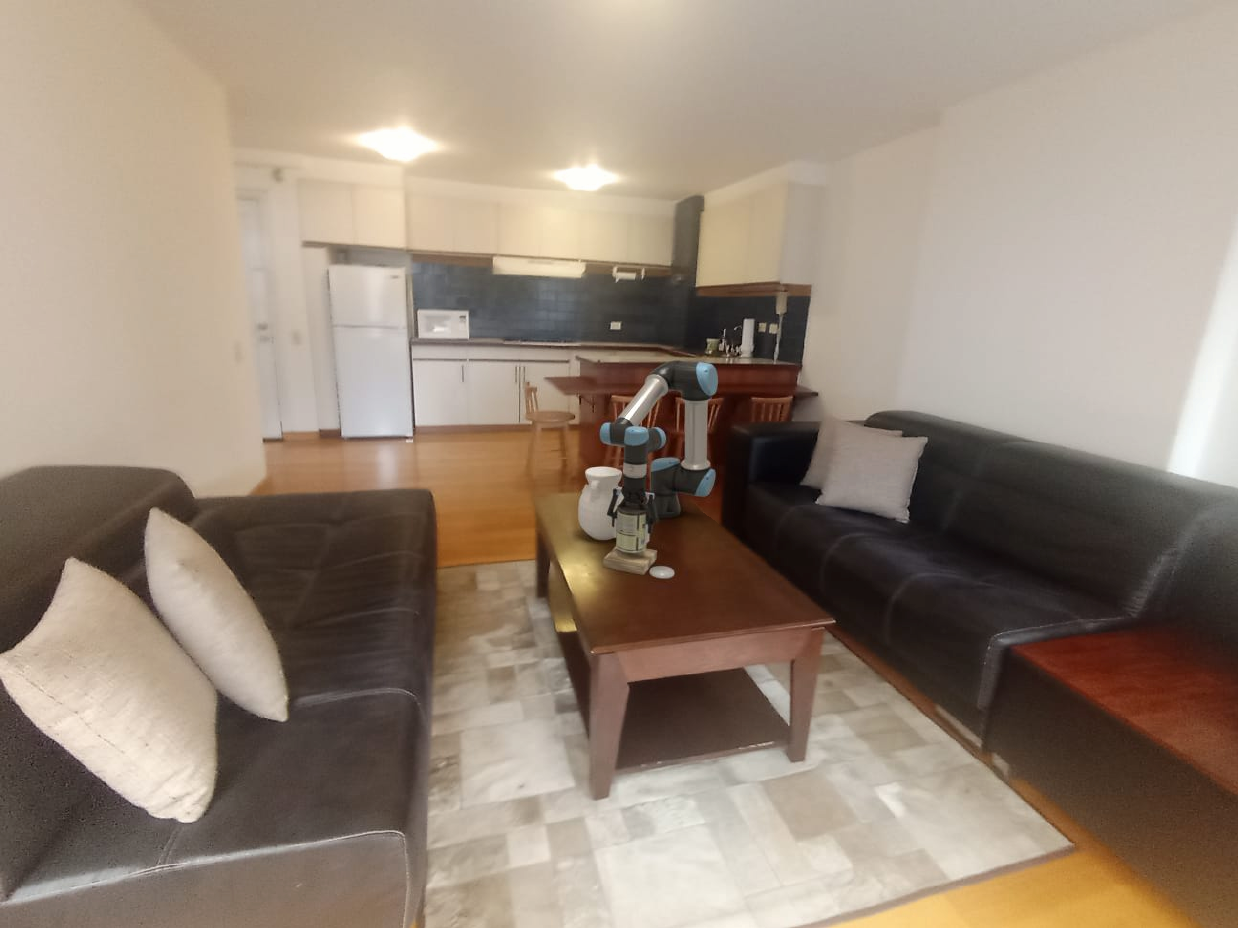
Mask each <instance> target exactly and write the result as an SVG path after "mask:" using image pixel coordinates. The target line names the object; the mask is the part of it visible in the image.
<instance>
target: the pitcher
mask: <svg viewBox="0 0 1238 928" xmlns="http://www.w3.org/2000/svg"><path fill="white" fill-rule="evenodd" d="M584 474H585V478H586V479H587V482H588V484H585V485H584V486H583V489H582V490H581V493H582V494H581V495H580V497H579V500H578V509H577V518H578V522H579V525H580V527H581V529H582V530H583V531H584V533H586V534H587V535H589V536H590V537H591V538H593V539H594V540H598V541H608V540H609V541H611V540H612V539H615V538H614V527H612V517H611V516H608V515H607V512H608V509H609V506H610V503H611V500H612V497H613V489H615V488H616V487H618V488H621V489H622V487H623V486H620V485H619V482H620V481H621V479H622V477H623V471H622V470H620V469H618V468H615V467H610V466H595V467H589V468H587V469H585V473H584ZM623 498H624V496H623V494H622V493H620V494H619V496H618V499H617V502H616V505H615V508H614V510H613V512H615V511H616V509H617V506H618V505H619V504H620V503H621V501H622V500H623Z"/></svg>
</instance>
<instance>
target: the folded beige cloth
mask: <svg viewBox="0 0 1238 928" xmlns="http://www.w3.org/2000/svg"><path fill="white" fill-rule="evenodd" d="M657 555H658V550H656V549H651V548H646V549H645V550H644V551H642V552H638V553H628V552H623V551H620V550H619V549H617V547H616V546H615V547H613V548H612V550H611V551H609V553H608V554H607V555H605V557H603V561H602V562H603V563H602V564H603V565H602V567H603V568H606V569H613V570H617V571H621V572H626V573H632V574H635V575H640V576H644V575H646V572H647V571H648V570H650V569H651V566H652V565H653V564H654V563H655V562H656V560H657V558H658V556H657Z"/></svg>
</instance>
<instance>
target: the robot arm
mask: <svg viewBox="0 0 1238 928" xmlns="http://www.w3.org/2000/svg"><path fill="white" fill-rule="evenodd" d="M718 378H719V375H718V372H717V369H716V367H715V366H714V365H713V364H712V363H707V362H703V361H688V360H678V359H677V360H676V359H675V360H670V361H666V362H665V363H663V364H660V365H659V366H658V367H656V368H655V369H653V370H652V371H651V372H650V373H648V375H647V377H646V378H645V380H644V384H643V386H642V387H641V388H640V390H638V392H637V393H636V394H635V396H634V397H633V398H632V399H631V400H630V402H629V403H628V404H627V406H626V407H625V408H624V410H622V412H621V413H620V414H619V415H618V417H617V418H616V419H615V420H614V422H611V421H610V422H604V423H603V424H601V427H600V430H599V438H600V441H601V442H602V443H603V444H606V445H609V446H611V447H612V446H615V447H620V448H623V450H624V451H623V469H622V470H623V471H622V486H621V487H622V489H621V488H618V487H616V488H615V489H613V497H612V500H611V503H610V506H609V509H608V512H607V515H608V516H611V517H612V527H614V538H613V539H617V512H618V509H616V511H615V512H613V510H614V508H615V505H616V502H617V499H618V496H619V494H620V493H622V494H623V496H624V498H623V500H622V501H621V503H620V505H619V506H620V507H623V506H624V505H625V504H626V503H627V502H629V503H635V504H638V506H639V507H640V508H641V510H646V509H647V506H648V507H649V510H648V512H646V518H645V519H646V521H647V524H646V525H645V543H646V545H647V544H648V543H649V542H650V537H651V534H652V533H653V531H654V529H653V527H654V525H657V523H658V522H659V520H660V519H672V518H678V517H679V516H680V515H681V510H682V508H681V504H680V501H679V497H678V494H679V493H681V494H685V495H692V496H695V497H702V498H703V497H707V496H708V495H709V494H710V493H711V491H712V489H713V487H714V484H715V481H716V471H715V469H713V468H711V462H710V461H709V460H708V459H707V458H708V457H707V456H708V455H707V453H708V452H707V451H708V445H707V444H708V410H709V409H708V405H709V404H708V403H709V402H710V401H711V399H712V398H713V396H714V395H715V394H716V392H717V390H718V386H719V385H718V384H719V379H718ZM669 392H679V393H680V398H681V400H682V401H683V402H684V459H683V460H682V461H680V459H679V458H676V457H663V458H657V459H654V460H653V461H652V462H651V466H650V471H649V472H650V481H649V483H650V484H649V492H647V490H646V487H647V485H646V484H647V476H646V475H647V467H648V466H647V464H648V454H649V453H652V452H655V451H656V452H657V451H659V449H662V447H664V446H665V445H666V441H667V440H666V439H667V436H666V434H665V431H664V430H663V429H661V428H660V427H657V426H656V427H653V426H651V427H649V428H647V427H644V426H640V424H641V423H642V422H643V420H644V419H645V418H646V417H647V415H648V414H649V413H650V411H651V410H652V409H653V407H654V406H655V404H656V403H657V402H658V401H659V399H661V397H664V396H665V395H666V394H667V393H669ZM645 497H646V499H647V500H645V499H644V498H645ZM646 505H647V506H646Z"/></svg>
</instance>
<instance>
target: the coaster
mask: <svg viewBox="0 0 1238 928" xmlns="http://www.w3.org/2000/svg"><path fill="white" fill-rule="evenodd" d="M649 575H650V576H651V577H654V578H656V579H671V578H673V577H674V576H675V570H674V569H672V568H671V567H669V566H664V565H663V566H662V565H658V566H653V567H650V568H649Z"/></svg>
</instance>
